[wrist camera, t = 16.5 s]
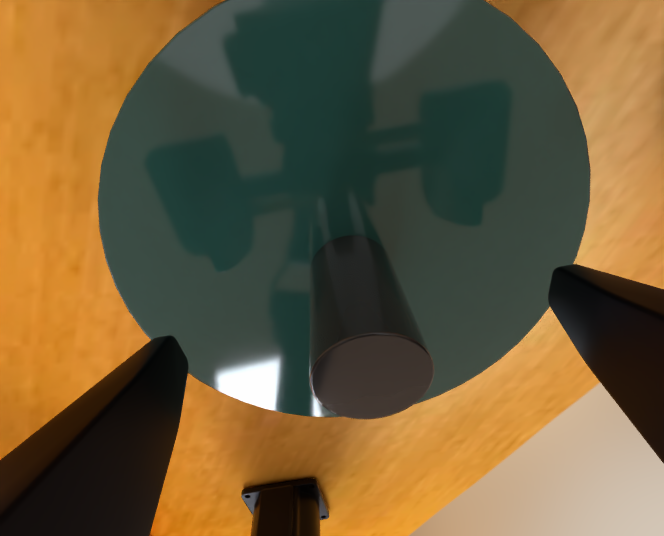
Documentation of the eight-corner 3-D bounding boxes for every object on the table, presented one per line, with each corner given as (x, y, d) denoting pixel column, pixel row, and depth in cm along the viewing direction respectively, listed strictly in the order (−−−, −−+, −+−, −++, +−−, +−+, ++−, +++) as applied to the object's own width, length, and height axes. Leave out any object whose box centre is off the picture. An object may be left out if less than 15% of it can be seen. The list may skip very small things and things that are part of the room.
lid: (531, 365, 14) (632, 500, 10) (216, 416, 15) (175, 567, 10) (619, -86, 7) (1137, -341, 3) (4, 46, 8) (-417, 18, 3)
